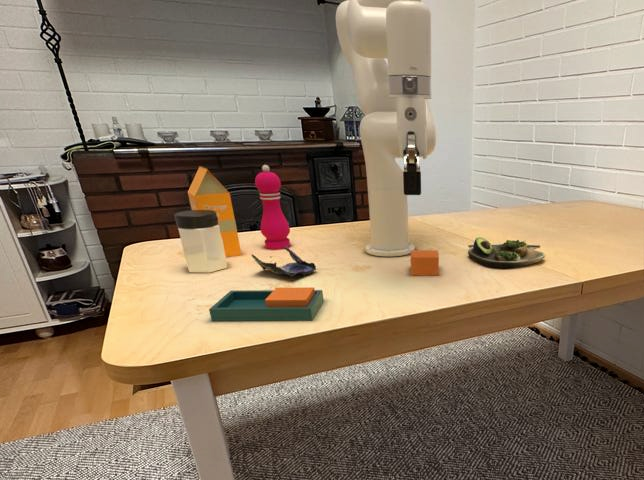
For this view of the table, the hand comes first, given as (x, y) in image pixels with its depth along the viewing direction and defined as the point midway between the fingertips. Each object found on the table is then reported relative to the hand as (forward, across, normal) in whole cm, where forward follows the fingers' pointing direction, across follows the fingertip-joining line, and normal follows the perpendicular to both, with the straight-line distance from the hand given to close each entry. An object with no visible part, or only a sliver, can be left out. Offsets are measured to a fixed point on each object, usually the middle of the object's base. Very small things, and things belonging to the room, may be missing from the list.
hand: (412, 190), depth 91 cm
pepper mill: (+18, +30, +36) cm, 50 cm away
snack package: (+18, +5, +28) cm, 33 cm away
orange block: (+18, +6, -2) cm, 19 cm away
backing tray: (+18, -17, +25) cm, 35 cm away
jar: (+18, +11, +46) cm, 51 cm away
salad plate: (+18, +16, -22) cm, 32 cm away
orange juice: (+18, +24, +48) cm, 57 cm away
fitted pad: (+18, -17, +22) cm, 33 cm away
